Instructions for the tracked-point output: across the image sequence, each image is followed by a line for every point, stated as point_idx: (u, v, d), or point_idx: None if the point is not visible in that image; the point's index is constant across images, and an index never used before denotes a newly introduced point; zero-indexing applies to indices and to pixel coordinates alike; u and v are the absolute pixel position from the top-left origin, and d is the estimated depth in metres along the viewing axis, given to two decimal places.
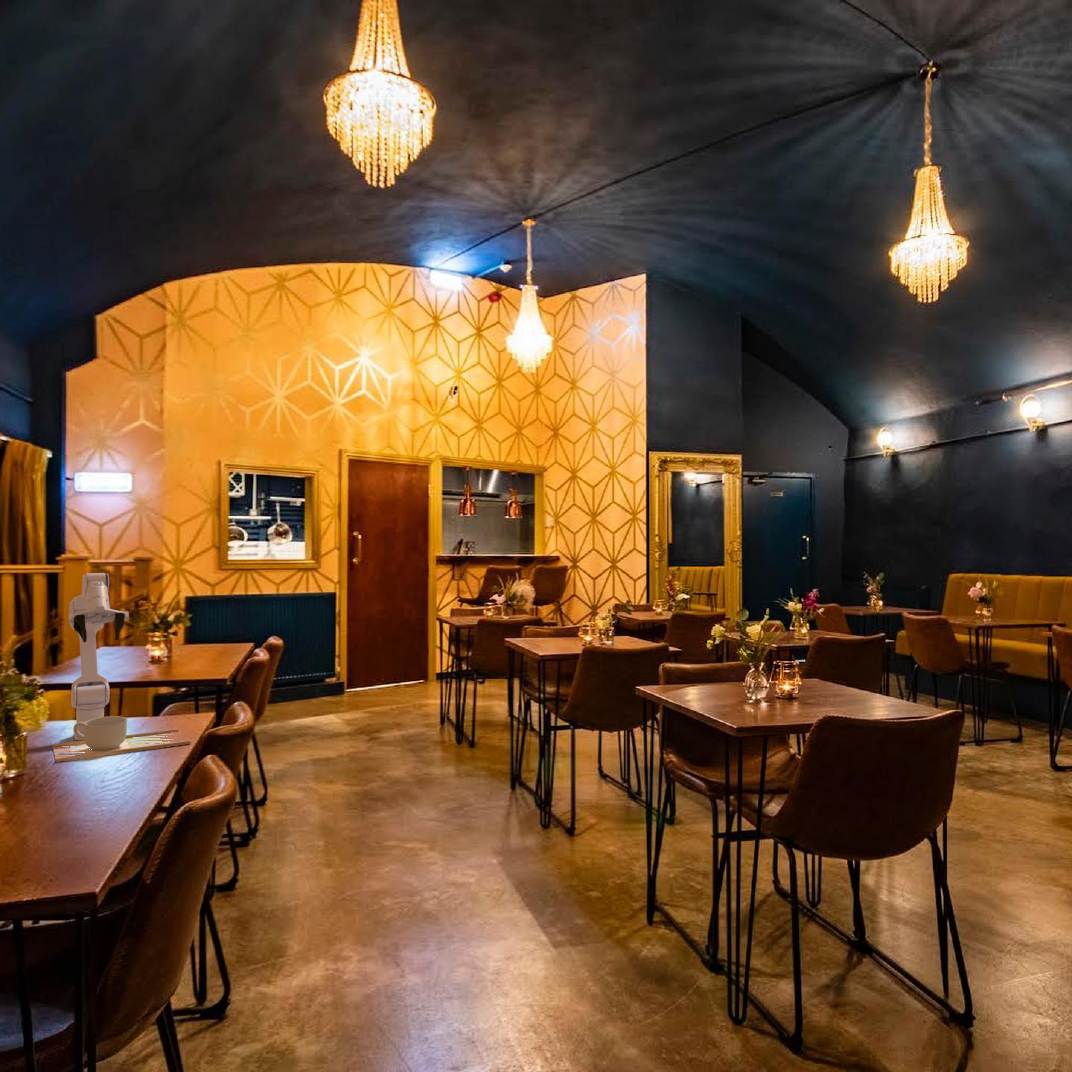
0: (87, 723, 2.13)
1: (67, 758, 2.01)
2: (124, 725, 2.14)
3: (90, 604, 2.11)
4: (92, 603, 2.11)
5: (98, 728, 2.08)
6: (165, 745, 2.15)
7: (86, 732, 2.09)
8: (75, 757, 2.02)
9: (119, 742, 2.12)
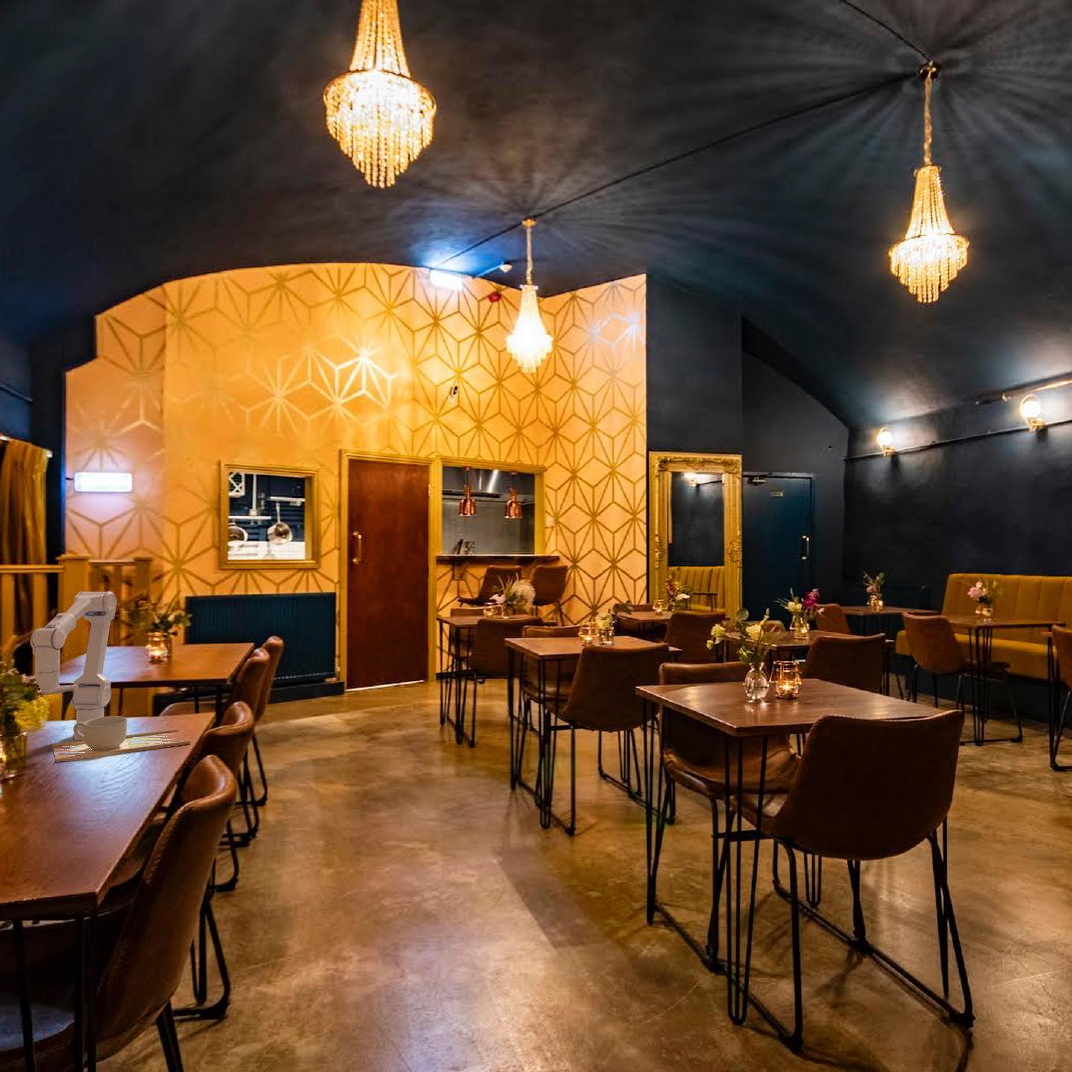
0: (87, 723, 2.13)
1: (67, 758, 2.01)
2: (124, 725, 2.14)
3: (38, 680, 2.04)
4: (40, 680, 2.04)
5: (98, 728, 2.08)
6: (165, 745, 2.15)
7: (86, 732, 2.09)
8: (75, 757, 2.02)
9: (119, 742, 2.12)
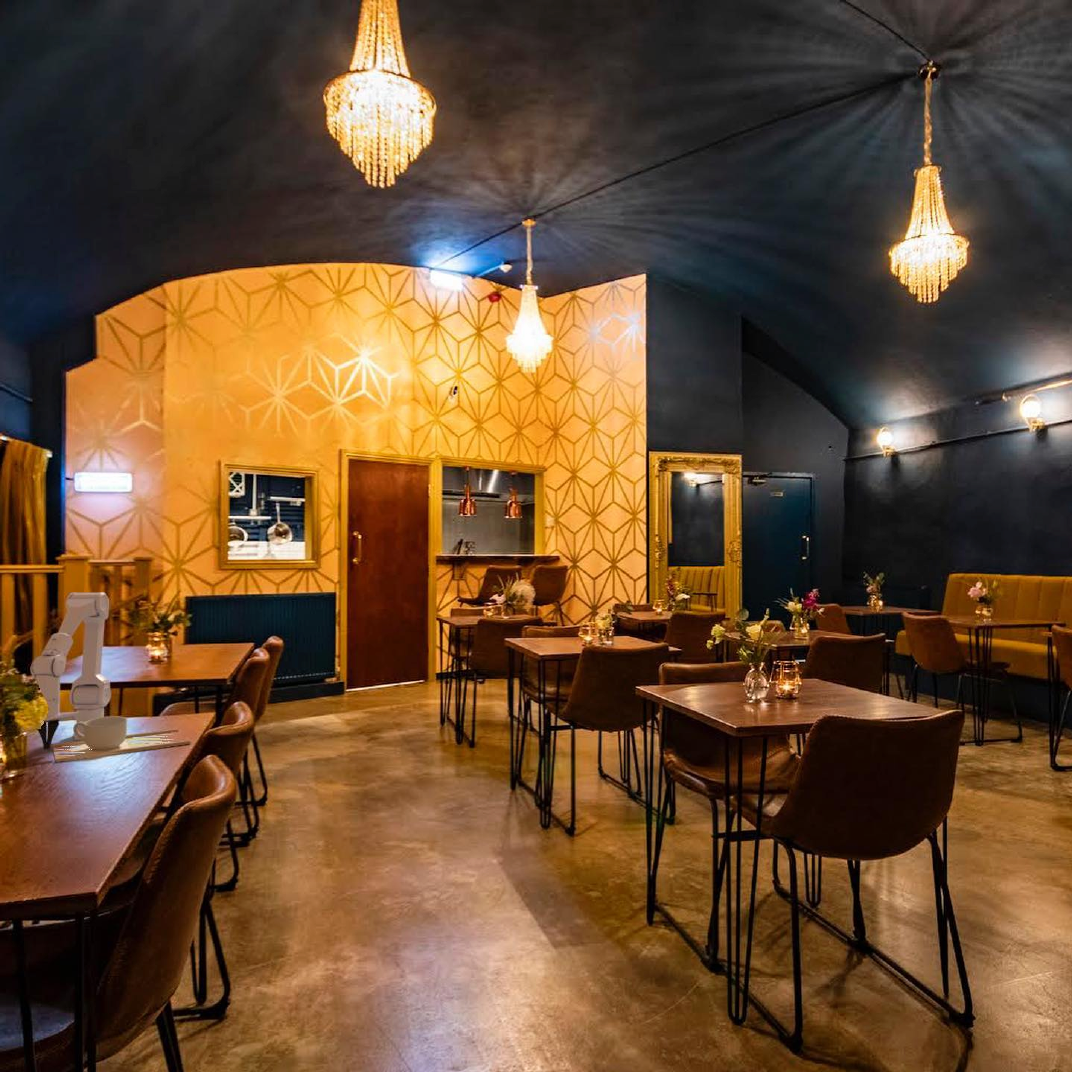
0: (87, 723, 2.13)
1: (67, 758, 2.01)
2: (124, 725, 2.14)
3: None
4: None
5: (98, 728, 2.08)
6: (165, 745, 2.15)
7: (86, 732, 2.09)
8: (75, 757, 2.02)
9: (119, 742, 2.12)
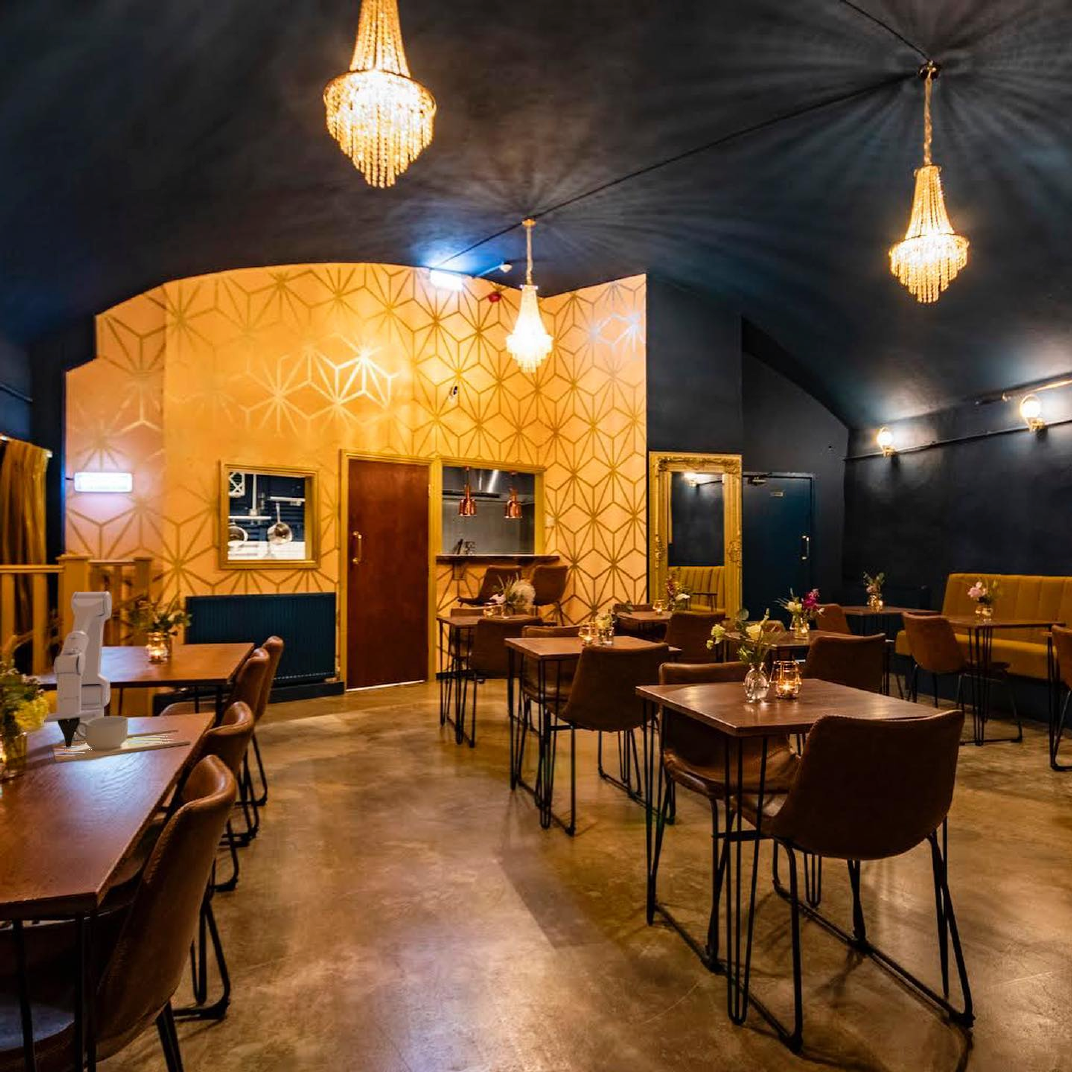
0: (88, 723, 2.13)
1: (67, 758, 2.01)
2: (125, 725, 2.14)
3: (60, 706, 2.07)
4: (62, 706, 2.07)
5: (99, 727, 2.08)
6: (165, 745, 2.15)
7: (87, 732, 2.09)
8: (75, 757, 2.02)
9: (120, 742, 2.12)
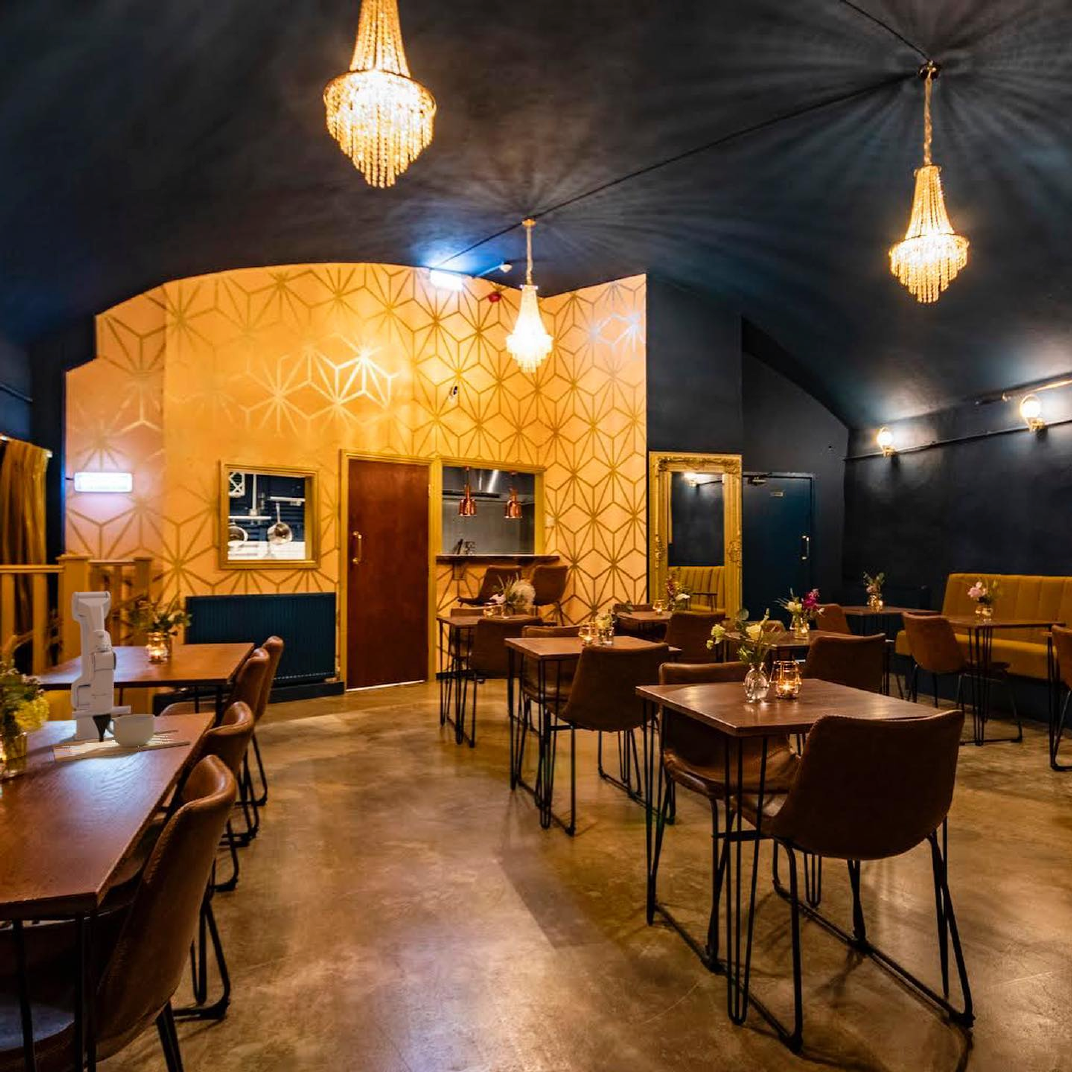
0: (118, 719, 2.17)
1: (67, 758, 2.01)
2: (150, 722, 2.16)
3: (94, 702, 2.11)
4: (96, 702, 2.11)
5: (123, 723, 2.11)
6: (165, 745, 2.15)
7: (114, 728, 2.13)
8: (75, 757, 2.02)
9: (144, 739, 2.14)
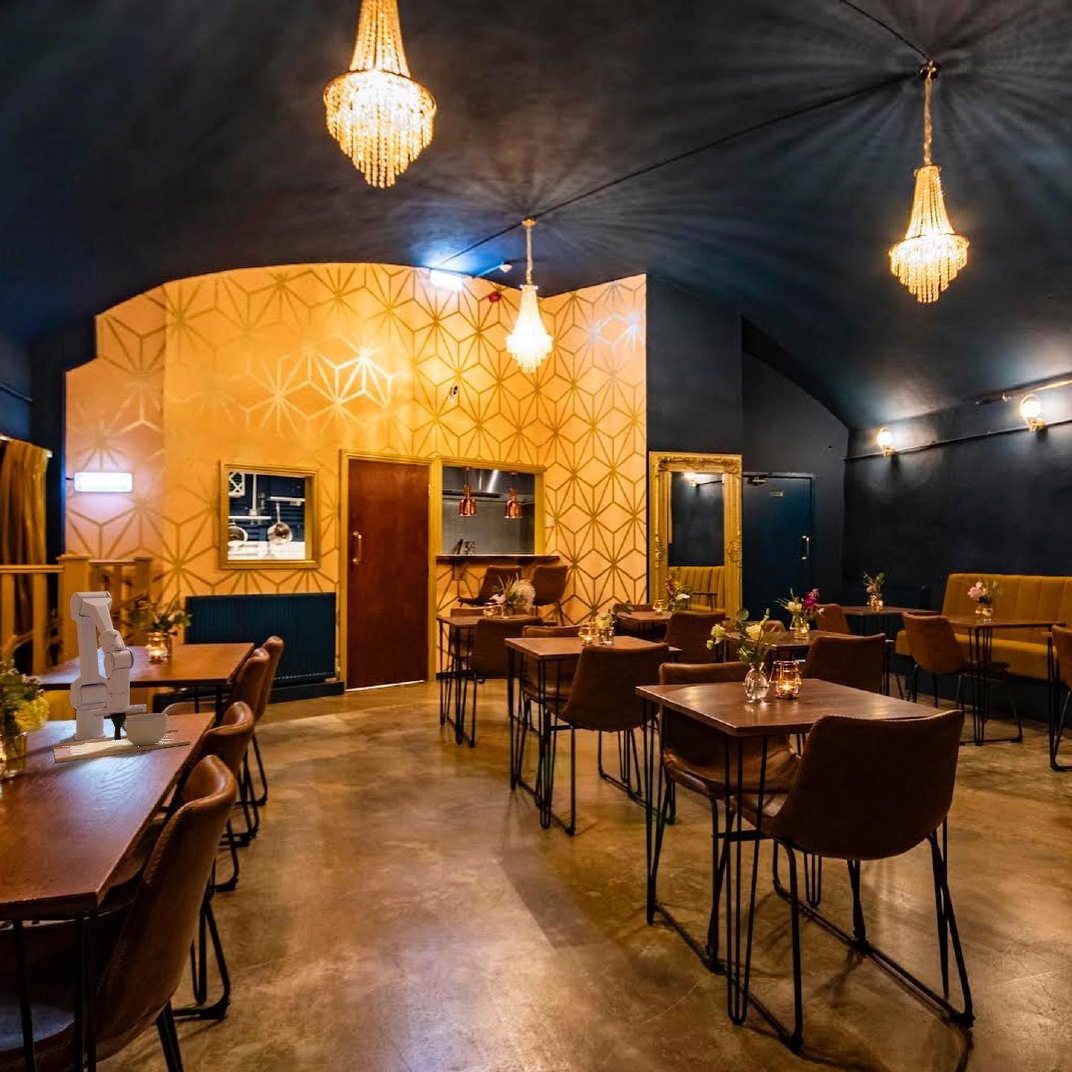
0: (132, 718, 2.19)
1: (67, 758, 2.01)
2: (161, 721, 2.16)
3: (110, 700, 2.14)
4: (112, 701, 2.14)
5: (134, 721, 2.13)
6: (165, 745, 2.15)
7: (126, 726, 2.15)
8: (75, 757, 2.02)
9: (155, 738, 2.15)
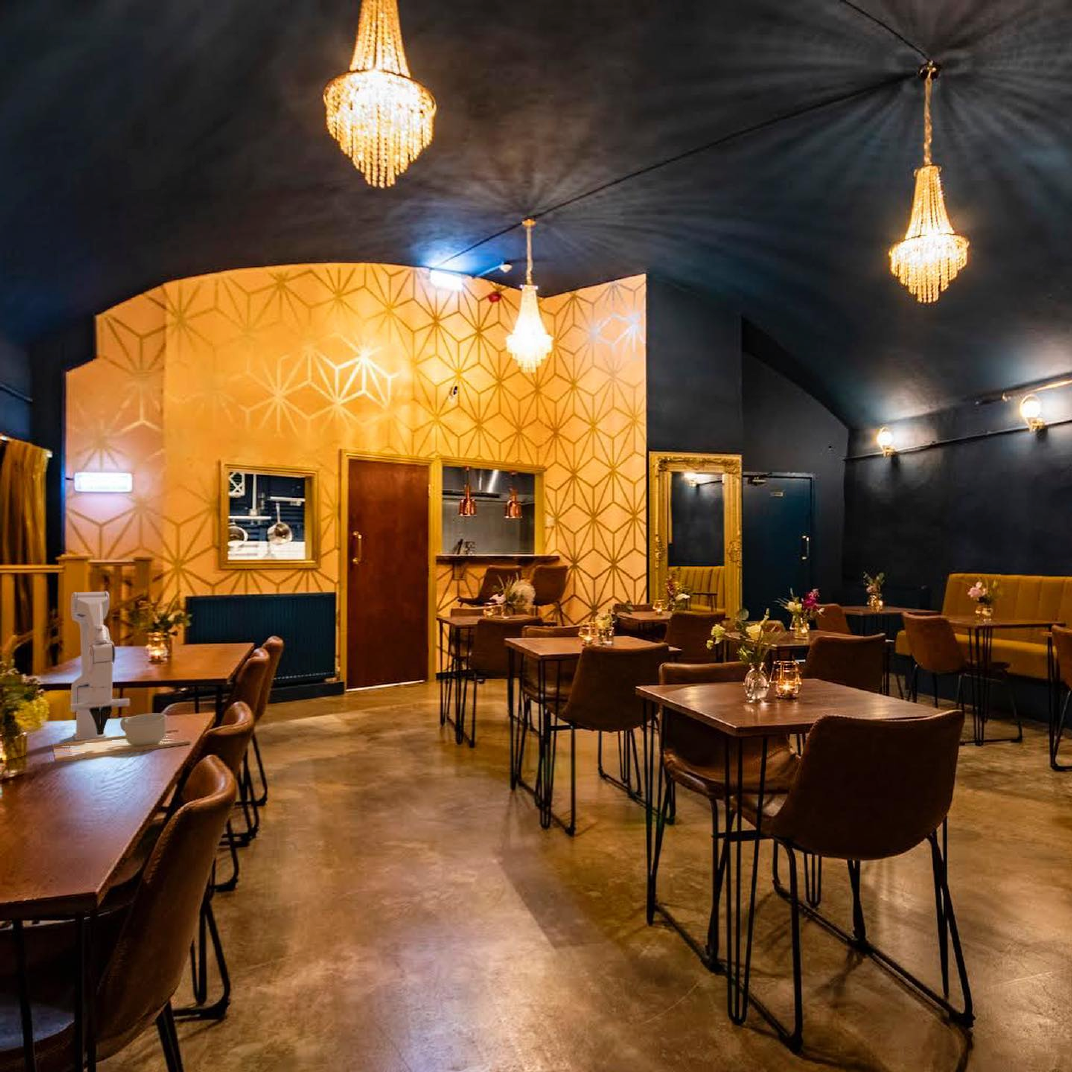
0: (131, 719, 2.18)
1: (67, 758, 2.01)
2: (160, 724, 2.16)
3: (93, 694, 2.11)
4: (95, 695, 2.11)
5: (133, 725, 2.12)
6: (165, 745, 2.15)
7: (125, 728, 2.14)
8: (75, 757, 2.02)
9: (154, 740, 2.14)
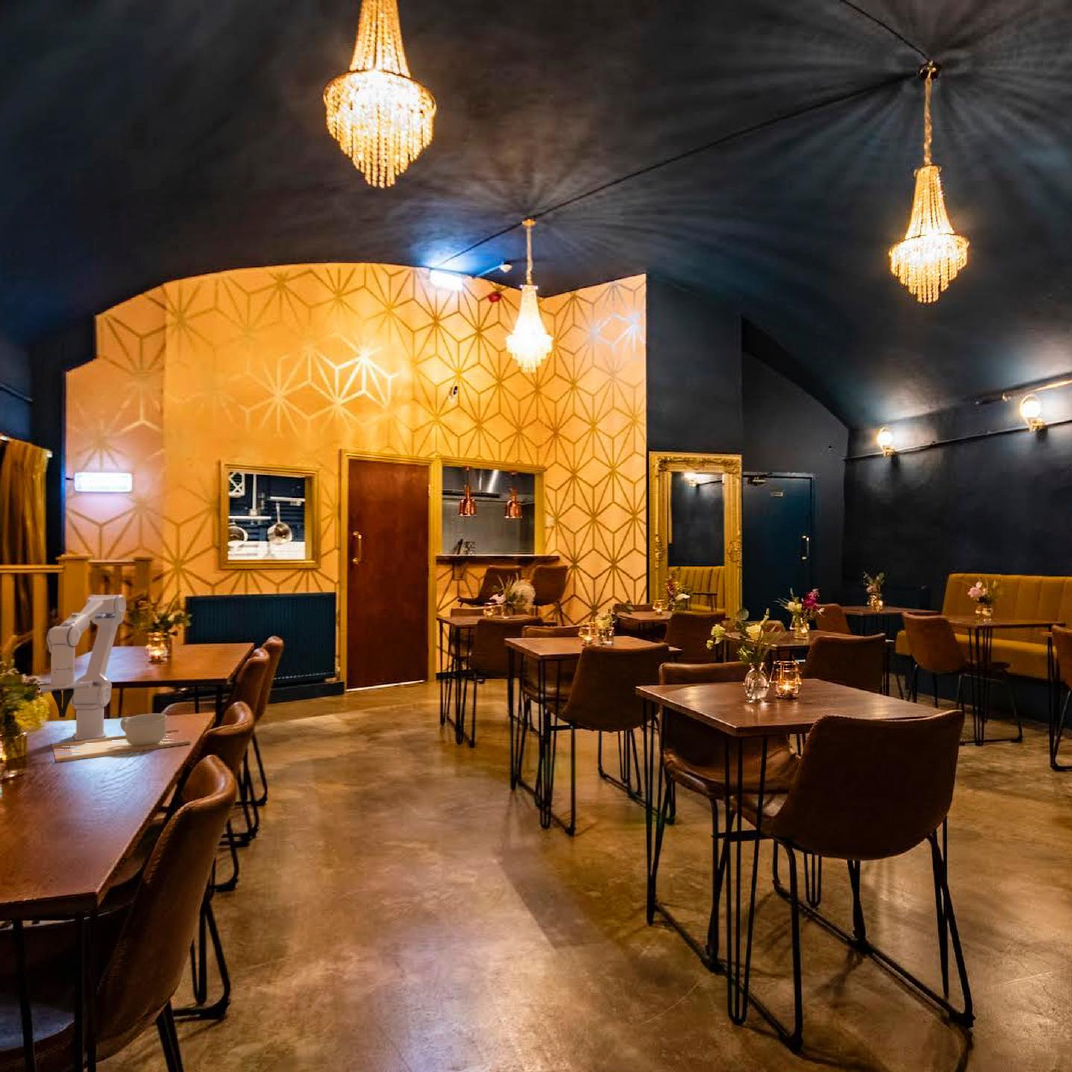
0: (131, 719, 2.18)
1: (67, 758, 2.01)
2: (160, 724, 2.16)
3: (54, 677, 2.10)
4: (56, 677, 2.10)
5: (133, 725, 2.12)
6: (165, 745, 2.15)
7: (125, 728, 2.14)
8: (75, 757, 2.02)
9: (154, 740, 2.14)
